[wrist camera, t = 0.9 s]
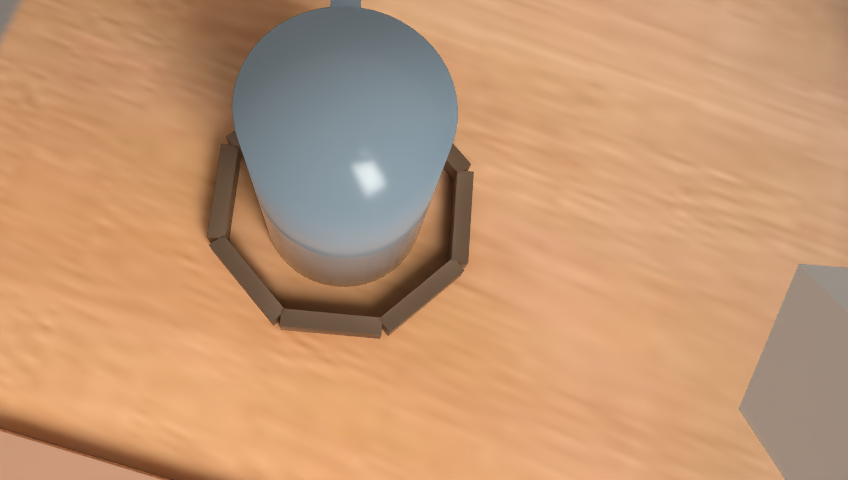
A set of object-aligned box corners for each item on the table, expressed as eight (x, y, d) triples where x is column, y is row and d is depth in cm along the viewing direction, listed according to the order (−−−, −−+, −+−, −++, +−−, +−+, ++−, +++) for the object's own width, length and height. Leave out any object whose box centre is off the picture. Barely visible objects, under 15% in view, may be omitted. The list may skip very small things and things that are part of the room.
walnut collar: (516, 228, 38) (522, 221, 37) (324, 388, 35) (324, 386, 34) (361, 53, 39) (362, 41, 38) (164, 191, 36) (159, 183, 35)
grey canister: (423, 286, 37) (462, 213, 25) (263, 287, 36) (227, 212, 24) (417, 100, 39) (451, -44, 28) (268, 97, 38) (238, -53, 27)
